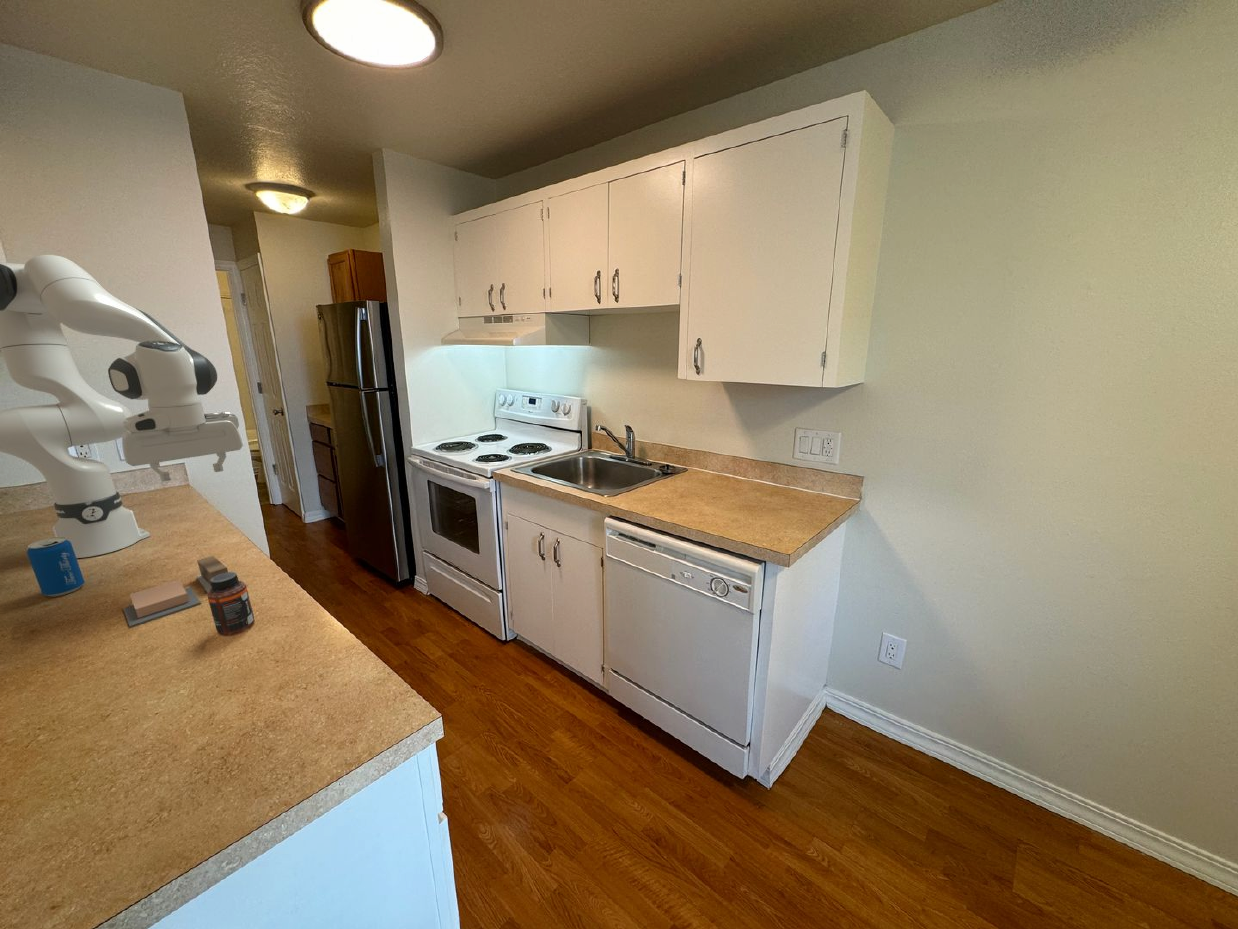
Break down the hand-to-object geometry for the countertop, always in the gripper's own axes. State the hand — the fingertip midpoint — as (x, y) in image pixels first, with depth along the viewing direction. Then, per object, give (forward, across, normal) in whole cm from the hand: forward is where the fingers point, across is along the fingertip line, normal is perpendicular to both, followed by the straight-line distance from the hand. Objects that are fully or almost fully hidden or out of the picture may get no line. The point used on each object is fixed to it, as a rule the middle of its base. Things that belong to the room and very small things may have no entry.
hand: (193, 475), depth 112 cm
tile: (+22, +11, +6) cm, 26 cm away
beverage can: (+25, +25, -14) cm, 38 cm away
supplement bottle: (+23, +3, +34) cm, 41 cm away
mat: (+24, +11, +12) cm, 29 cm away
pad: (+24, +2, +8) cm, 25 cm away
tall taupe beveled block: (+23, +2, +8) cm, 25 cm away
